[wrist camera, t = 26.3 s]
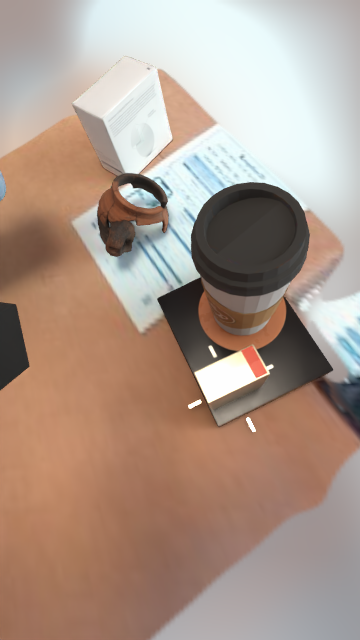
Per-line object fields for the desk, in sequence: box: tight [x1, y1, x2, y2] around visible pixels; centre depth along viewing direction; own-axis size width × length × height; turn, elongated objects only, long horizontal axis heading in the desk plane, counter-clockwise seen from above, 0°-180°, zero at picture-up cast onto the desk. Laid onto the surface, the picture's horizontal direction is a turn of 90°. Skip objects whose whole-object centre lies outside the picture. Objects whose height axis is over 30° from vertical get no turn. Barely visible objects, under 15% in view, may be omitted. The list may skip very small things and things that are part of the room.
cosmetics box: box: [72, 56, 172, 176], centre depth 44 cm, size 10×6×10 cm, turn 140°
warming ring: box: [199, 291, 286, 351], centre depth 35 cm, size 10×10×1 cm
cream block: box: [194, 344, 270, 410], centre depth 28 cm, size 6×3×8 cm, turn 114°
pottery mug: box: [97, 173, 169, 257], centre depth 41 cm, size 12×10×8 cm
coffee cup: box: [191, 182, 310, 336], centre depth 27 cm, size 8×8×15 cm
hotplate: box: [157, 277, 333, 432], centre depth 35 cm, size 18×15×3 cm
